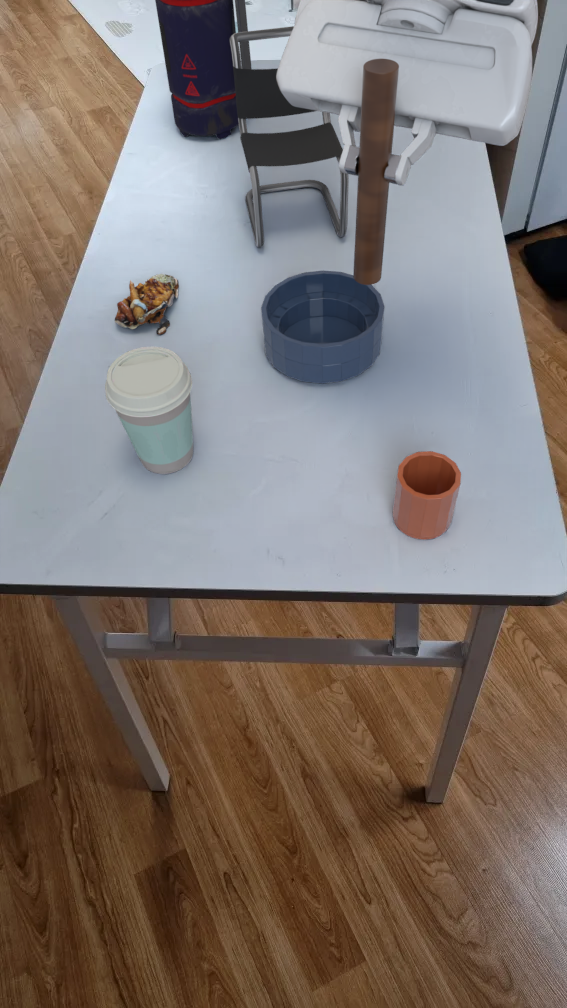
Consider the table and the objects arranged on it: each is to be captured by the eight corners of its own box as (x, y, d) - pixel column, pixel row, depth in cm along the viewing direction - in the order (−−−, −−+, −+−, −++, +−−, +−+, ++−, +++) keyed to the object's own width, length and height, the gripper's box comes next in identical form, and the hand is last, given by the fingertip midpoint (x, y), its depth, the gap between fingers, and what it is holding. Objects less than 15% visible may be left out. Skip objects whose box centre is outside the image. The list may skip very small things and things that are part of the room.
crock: (452, 496, 73) (462, 454, 68) (449, 544, 70) (459, 503, 65) (395, 489, 74) (401, 447, 69) (389, 536, 71) (394, 495, 66)
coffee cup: (217, 434, 80) (203, 351, 71) (186, 492, 75) (166, 410, 66) (148, 419, 82) (125, 335, 73) (114, 474, 77) (84, 392, 68)
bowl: (386, 315, 92) (390, 275, 87) (373, 392, 83) (376, 352, 78) (277, 306, 94) (275, 266, 89) (253, 380, 85) (249, 340, 81)
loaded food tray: (185, 279, 98) (181, 255, 96) (166, 336, 91) (161, 312, 88) (135, 277, 99) (130, 254, 96) (112, 333, 92) (106, 310, 89)
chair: (324, 182, 112) (324, 21, 95) (348, 244, 102) (353, 75, 84) (242, 192, 112) (227, 32, 94) (257, 256, 101) (243, 88, 84)
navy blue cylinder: (166, 140, 123) (129, -79, 99) (187, 108, 130) (157, -103, 106) (244, 145, 121) (225, -78, 97) (261, 113, 128) (247, -103, 104)
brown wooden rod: (382, 269, 68) (400, 59, 53) (379, 286, 66) (397, 74, 52) (355, 267, 68) (365, 57, 54) (351, 283, 66) (361, 72, 52)
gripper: (294, -45, 56) (244, 138, 59) (557, -12, 50) (489, 190, 53) (317, 2, 62) (272, 166, 65) (555, 35, 56) (494, 215, 59)
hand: (371, 177), depth 59 cm, fingers closed on brown wooden rod, 2 cm apart
